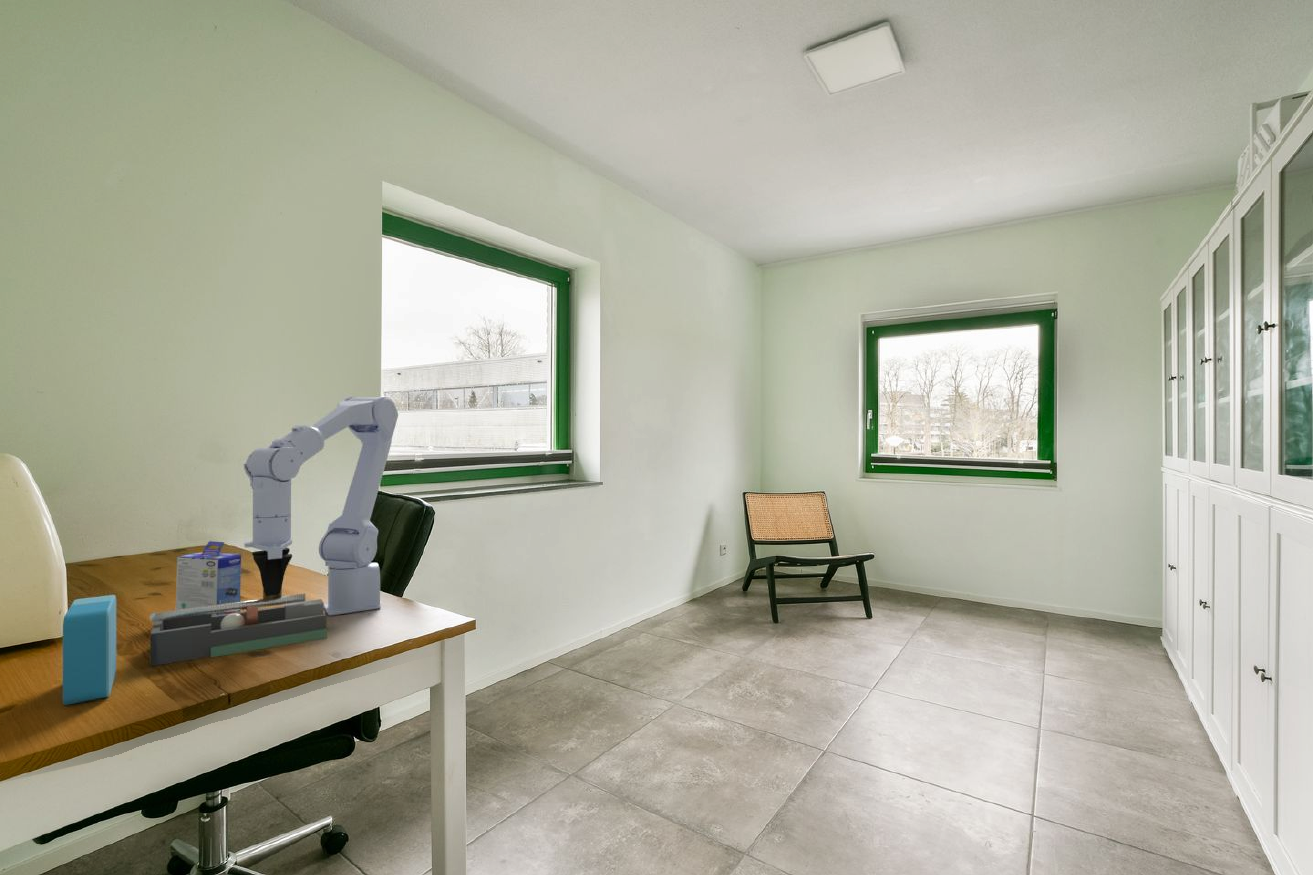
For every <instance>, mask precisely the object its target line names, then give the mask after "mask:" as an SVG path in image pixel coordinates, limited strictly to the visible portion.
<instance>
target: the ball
mask: <svg viewBox="0 0 1313 875" xmlns="http://www.w3.org/2000/svg"><path fill="white" fill-rule="evenodd" d="M241 626H245V619H244V617H243V616H242V615H240V614H237V613H233V614H229V615H227V616H226V617H225V618H224V619H223V620H222V621H221V625H220V627H221V629H228V628H235V627H241Z"/></svg>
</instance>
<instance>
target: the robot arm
mask: <svg viewBox="0 0 1313 875" xmlns="http://www.w3.org/2000/svg"><path fill="white" fill-rule="evenodd" d="M398 418H399V413H398V409H397V408H396V405H395V402H394V400H392V399H391V398H390V397H388V396H380V397H375V396H373V397H371V396H370V397H365V396H364V397H356V396H348V397H346V398H344V400H341V401H339V402H337V407H336V408H334V409H333V410H332V411H330V412H329V413H327V414H326V415H325V416H323V417H322V418H321V419H320V420H318V421H316V422H315V423H314V424H313V425H312V426H310V425H305V424H304V425H295V426H293V427H291V432H289V433H287V434H286V435H284V436H283V437H282V438H281V437H280V439H279V438H278V439H274V440H273V441H272V442H271V444H270V445H269V446H268V447H259V448H256V449H255V450H253V451H252V452H251V453H250V454H249V455H248V457H247V460H246V463H244V464H243V469H244V471H245V472H244V473H245V474H246V476H247V477H248V479H249V481H250V487H251V489H252V541H246V542H244V546H243V547H244V548H253V549H255V550H256V549H257V550H259V551H253V552H252V553H251V555H252V557H253V558H252V559H253V561H254V562H255V564H256V566H257V568H258V570H259V574H260V575H259V576H260V580H261V585H262V590H263V589H264V593H265V595H266V596H271V595H279V594H280V591H281V587H282V588H283V582H284V577H285V573H286V570H287V568H288V565H289V564H290V562H291V560H292V558H293V554H292V553H290V548H289V547H290V545H293V538H292V479H294V478H296V477H297V475H298V474H299V472H300V468H301V466H302V465H304V463H305V462H307V461H308V460H310V459H311V458H313V457H314V456H316V455H317V454H318V453H320V452H321V451H323V449H324V446H325V441H326V440H328V439H330V438H331V437H334V436H335V435H336V434H338V433H339V432H341V431H343V430H345V429H346V428H348V429H349V431H350V432H351V433H352V434H353V436H355V438H356V439H359V440H360V442H361V444H362V446H361V449H360V452H359V456H358V460H357V463H356V466H355V470H354V473H353V476H352V479H351V483H350V486H349V489H348V492H347V496H346V499H345V502H344V506H343V510H342V514H341V515H340V516H339V517H337V518H336V519H334V520H333V521H332V522H331V523H329V525H328V527H327V530H326V532H325V534H324V535H323V536H322V538H321V539H320V541H319V545H318V553H319V556H320V558H321V559H322V560H323V561H324V562H325V566H326V567H327V568H328V569H327V571H328V573H327V578H328V579H327V581H328V583H327V584H328V585H327V587H328V588H327V594H328V595H327V598H328V599H327V603H324V609H325V610H324V611H325V612H326V613H327V615H328V616H336V615H337V616H338V615H342V614H343V615H344V614H348V613H349V614H350V613H357V612H362V611H363V612H364V611H369V610H376V609H381V608H382V607H381V573H380V572H381V571H380V566H379V563H378V562H372V561H373V560H374V559H375V557H376V554H377V550H378V535H379V529H378V528H377V527H376V526H375V525H374V524H373V522H372V521H371V518H372V514H373V510H374V507H375V503H376V499H377V496H378V493H379V489H380V485H381V483H382V478H383V474H384V471H385V468H386V464H387V460H388V457H389V453H390V449H391V446H392V442H393V441H392V440H393V437H394V436H393V435H394V433H395V429H396V425H397V422H398Z"/></svg>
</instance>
